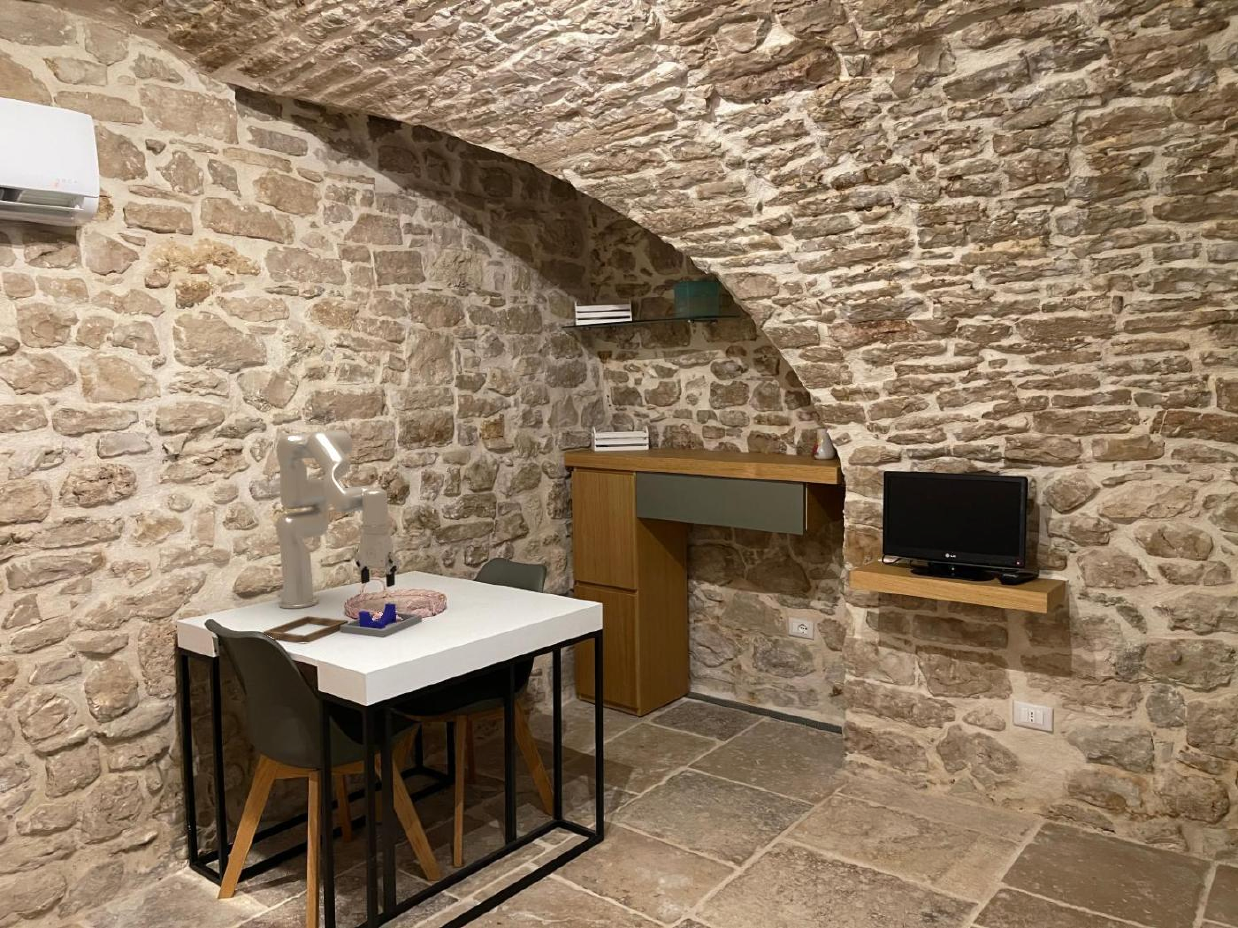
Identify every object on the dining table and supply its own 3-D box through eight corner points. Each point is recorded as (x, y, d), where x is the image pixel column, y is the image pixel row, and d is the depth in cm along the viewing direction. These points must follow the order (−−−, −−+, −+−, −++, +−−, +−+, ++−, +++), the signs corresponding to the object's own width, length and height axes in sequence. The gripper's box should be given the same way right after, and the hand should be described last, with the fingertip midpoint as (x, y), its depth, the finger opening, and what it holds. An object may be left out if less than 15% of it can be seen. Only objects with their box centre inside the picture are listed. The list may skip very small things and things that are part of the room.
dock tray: (340, 632, 289) (340, 625, 288) (380, 616, 305) (379, 610, 305) (383, 637, 282) (383, 630, 281) (421, 621, 298) (421, 614, 298)
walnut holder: (263, 638, 285) (263, 631, 284) (307, 622, 301) (307, 616, 301) (305, 643, 278) (305, 636, 277) (348, 626, 294) (348, 620, 294)
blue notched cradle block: (370, 632, 287) (369, 613, 287) (360, 631, 290) (358, 611, 289) (399, 623, 297) (398, 604, 297) (389, 621, 300) (388, 602, 299)
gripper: (345, 529, 291) (347, 584, 293) (390, 534, 283) (392, 590, 285) (361, 525, 297) (363, 578, 300) (406, 529, 290) (408, 584, 292)
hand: (378, 584), depth 292 cm, fingers open, 9 cm apart
